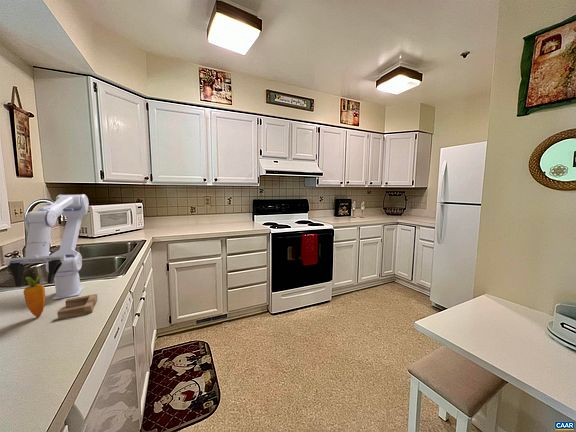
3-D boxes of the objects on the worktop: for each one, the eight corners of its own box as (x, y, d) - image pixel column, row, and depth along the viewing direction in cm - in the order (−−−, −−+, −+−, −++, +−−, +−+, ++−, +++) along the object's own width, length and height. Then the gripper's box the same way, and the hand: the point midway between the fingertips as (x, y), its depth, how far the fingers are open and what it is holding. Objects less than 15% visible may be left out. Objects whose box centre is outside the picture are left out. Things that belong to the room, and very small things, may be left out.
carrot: (47, 311, 88) (41, 271, 86) (49, 316, 85) (43, 274, 83) (27, 317, 84) (20, 275, 82) (28, 322, 81) (21, 279, 79)
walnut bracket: (67, 305, 93) (66, 299, 92) (97, 299, 97) (96, 293, 97) (58, 319, 83) (57, 312, 83) (91, 312, 87) (91, 305, 87)
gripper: (2, 243, 78) (-4, 287, 75) (62, 241, 85) (59, 281, 82) (13, 247, 84) (8, 288, 81) (68, 244, 91) (65, 282, 88)
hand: (34, 284), depth 82 cm, fingers open, 7 cm apart
